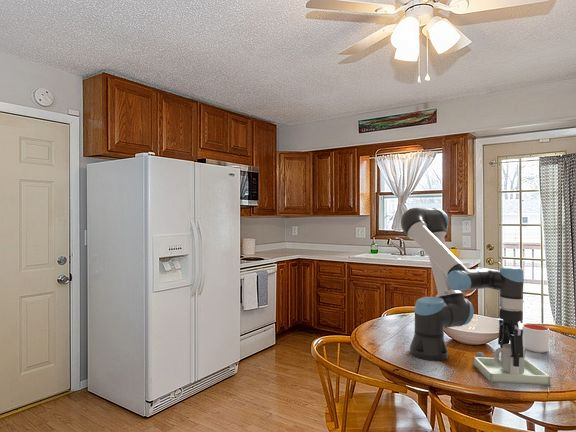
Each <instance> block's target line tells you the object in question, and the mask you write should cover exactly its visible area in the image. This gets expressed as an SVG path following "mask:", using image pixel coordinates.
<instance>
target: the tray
mask: <svg viewBox="0 0 576 432" xmlns="http://www.w3.org/2000/svg"><path fill="white" fill-rule="evenodd" d="M499 360H500V361H501V357H499ZM473 366H474V367H475V368H476V369H477V370H478V371H479V372H480V373H482V375H483V376H484V377H485V378H486V379H487V380H488V381H489V382H490V383H500V384H501V383H502V384H503V383H504V384H520V385H521V384H523V385H537V384H542V385H541V386H551V380H552V379H551V375H549V374H548V373H546V372H545V371H543V370H542V369H541V368H539V367H538V366H537V365H536V364H534V363H533V362H531V361H530V360H529V359H525V364H524V373H523V374H510V373H508V372H505V371H504V370H503V369H502V366H500V365H498V364H497V363H496V362H495V360H494V357H486V356H485V357H475V356H473Z"/></svg>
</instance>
